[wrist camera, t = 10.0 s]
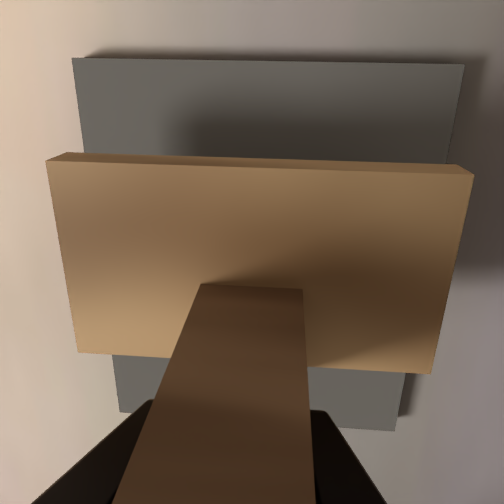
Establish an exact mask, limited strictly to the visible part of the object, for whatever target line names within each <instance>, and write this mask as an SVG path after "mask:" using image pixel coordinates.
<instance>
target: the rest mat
mask: <svg viewBox="0 0 504 504" xmlns="http://www.w3.org/2000/svg"><path fill="white" fill-rule="evenodd" d="M72 65H73V72H74V79H75V87H76V94H77V101H78V109H79V116H80V123H81V131H82V138H83V145H84V153H105V154H136V155H168V156H200V157H232V158H263V159H295V160H327V161H359V162H390V163H422V164H446V161H447V156H448V151H449V146H450V140H451V135H452V130H453V125H454V120H455V114H456V109H457V104H458V99H459V94H460V88H461V83H462V78H463V73H464V68H465V64H424V63H362V62H300V61H239V60H177V59H116V58H72ZM112 358H113V366H114V373H115V380H116V388H117V395H118V402H119V410H120V412H124V413H133V412H134V411H135V410H136V409H138V408H139V407H140V406H141V405H142V404H143V403H144V402H145V401H147V400H149V399H154V398H155V395H156V393H157V390H158V388H159V386H160V383H161V381H162V378H163V376H164V373H165V371H166V368H167V366H168V363H169V361H170V358H160V357H144V356H128V355H112ZM307 371H308V387H309V404H310V409H311V410H324V411H326V412H327V413H328V414H329V416H330V417H331V419H332V420H333V422H334V423H335V425H336V426H337V427H340V428H354V429H369V430H383V431H395V426H396V421H397V416H398V411H399V405H400V400H401V395H402V390H403V385H404V379H405V374H406V373H402V372H386V371H370V370H354V369H338V368H322V367H307Z"/></svg>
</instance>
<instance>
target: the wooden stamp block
mask: <svg viewBox="0 0 504 504" xmlns="http://www.w3.org/2000/svg"><path fill="white" fill-rule="evenodd" d="M45 162H46V168H47V174H48V179H49V185H50V191H51V197H52V203H53V209H54V215H55V220H56V226H57V232H58V238H59V244H60V250H61V255H62V261H63V267H64V273H65V279H66V285H67V290H68V296H69V302H70V308H71V314H72V320H73V325H74V331H75V337H76V343H77V349H78V352H79V353H96V354H112V355H128V356H144V357H160V358H170V361H169V363H168V366H167V368H166V371H165V373H164V376H163V378H162V381H161V383H160V386H159V388H158V390H157V393H156V395H155V398H154V400H153V403H152V405H151V408H150V410H149V413H148V415H147V418H146V420H145V423H144V425H143V428H142V430H141V433H140V435H139V438H138V440H137V443H136V445H135V448H134V450H133V453H132V455H131V457H130V460H129V462H128V465H127V467H126V470H125V472H124V475H123V477H122V480H121V482H120V485H119V487H118V490H117V492H116V495H115V497H114V500H113V502H112V504H316V501H315V485H314V469H313V452H312V436H311V420H310V404H309V387H308V371H307V367H322V368H338V369H354V370H370V371H386V372H402V373H419V374H431V370H432V366H433V361H434V357H435V352H436V348H437V343H438V339H439V334H440V330H441V325H442V321H443V316H444V311H445V307H446V302H447V298H448V293H449V289H450V284H451V280H452V275H453V271H454V266H455V262H456V257H457V253H458V248H459V244H460V239H461V234H462V230H463V225H464V221H465V216H466V212H467V207H468V203H469V198H470V194H471V189H472V185H473V180H474V176H475V175H474V174H472V173H471V172H469V171H467V170H465V169H464V168H462V167H460V166H459V165H454V164H422V163H390V162H359V161H327V160H295V159H263V158H232V157H200V156H168V155H136V154H105V153H73V152H66V153H64V154H61V155H59V156H56V157H54V158H51V159H49V160H46V161H45Z"/></svg>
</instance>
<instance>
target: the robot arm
mask: <svg viewBox="0 0 504 504" xmlns="http://www.w3.org/2000/svg"><path fill="white" fill-rule="evenodd" d="M153 400H154V399H149V400H147V401H145V402H144V403H143V404H142V405H141V406H140V407H139V408H138V409H136V410H135V411H134V412H133V413H132V414H131V415H130V416H129V417H128V418H126V419H125V420H124V421H123V422H122V423H121V424H120V425H119V426H117V427H116V428H115V429H114V430H113V431H112V432H111V433H110V434H108V435H107V436H106V437H105V438H104V439H103V440H102V441H101V442H100V443H98V444H97V445H96V446H95V447H94V448H93V449H92V450H91V451H89V452H88V453H87V454H86V455H85V456H84V457H83V458H82V459H80V460H79V461H78V462H77V463H76V464H75V465H74V466H73V467H72V468H70V469H69V470H68V471H67V472H66V473H65V474H64V475H63V476H61V477H60V478H59V479H58V480H57V481H56V482H55V483H54V484H52V485H51V486H50V487H49V488H48V489H47V490H46V491H45V492H44V493H42V494H41V495H40V496H39V497H38V498H37V499H36V500H35V501H33V502H32V503H31V504H112V502H113V500H114V497H115V495H116V492H117V490H118V487H119V485H120V482H121V480H122V477H123V475H124V472H125V470H126V467H127V465H128V462H129V460H130V457H131V455H132V453H133V450H134V448H135V445H136V443H137V440H138V438H139V435H140V433H141V430H142V428H143V425H144V423H145V420H146V418H147V415H148V413H149V410H150V408H151V405H152V403H153ZM310 420H311V436H312V452H313V469H314V485H315V501H316V504H387V503H386V501H385V500H384V498H383V497H382V495H381V494H380V492H379V491H378V489H377V487H376V486H375V484H374V483H373V481H372V480H371V478H370V477H369V475H368V474H367V472H366V471H365V469H364V468H363V466H362V465H361V463H360V461H359V460H358V458H357V457H356V455H355V454H354V452H353V451H352V449H351V448H350V446H349V445H348V443H347V442H346V440H345V438H344V437H343V435H342V434H341V432H340V431H339V429H338V428H337V426H336V425H335V423H334V422H333V420H332V419H331V417H330V416H329V414H328V413H327V412H326V411H324V410H311V409H310Z"/></svg>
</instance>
